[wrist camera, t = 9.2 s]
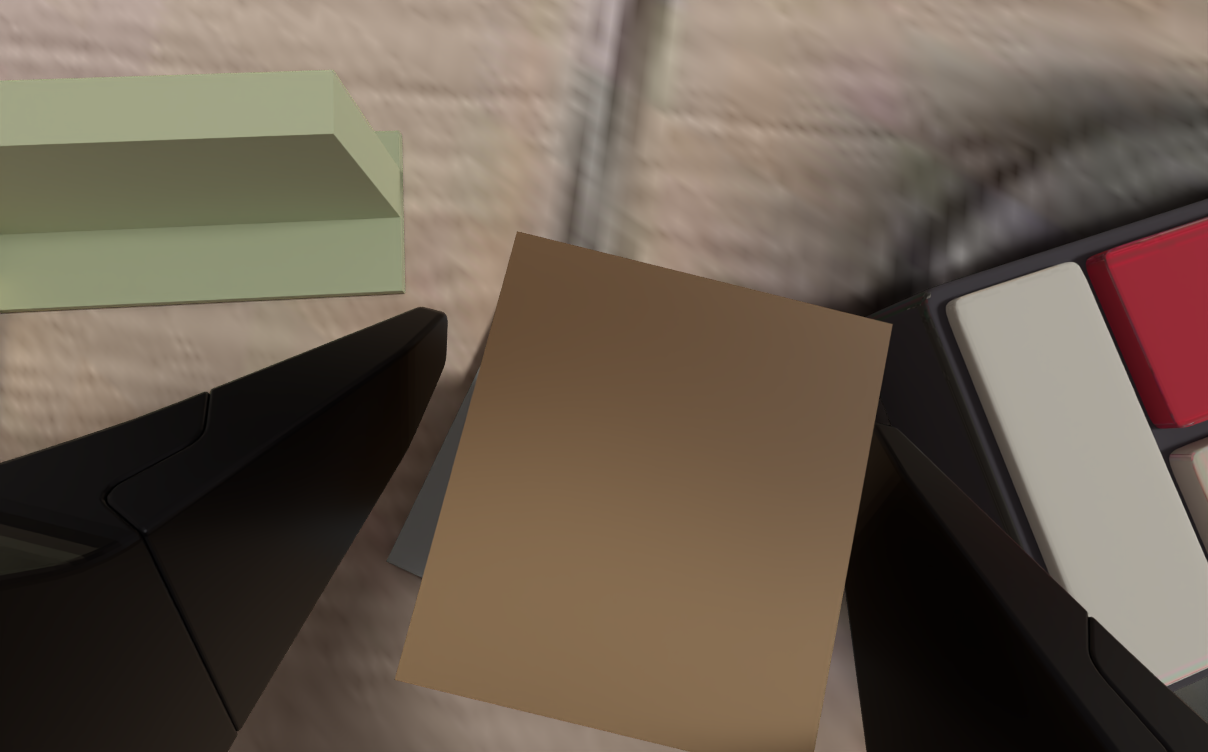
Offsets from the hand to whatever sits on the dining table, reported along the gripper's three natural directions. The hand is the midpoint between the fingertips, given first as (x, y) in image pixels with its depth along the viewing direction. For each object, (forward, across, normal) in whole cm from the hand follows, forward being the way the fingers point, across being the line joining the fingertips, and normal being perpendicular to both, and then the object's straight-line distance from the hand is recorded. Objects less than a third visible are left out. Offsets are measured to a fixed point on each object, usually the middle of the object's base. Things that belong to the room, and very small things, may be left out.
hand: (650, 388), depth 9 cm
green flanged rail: (+7, +16, +5) cm, 18 cm away
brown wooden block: (+4, 0, +6) cm, 8 cm away
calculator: (+9, -16, +3) cm, 18 cm away
